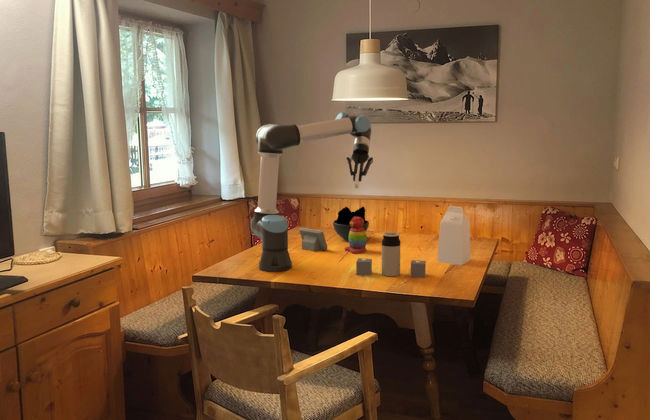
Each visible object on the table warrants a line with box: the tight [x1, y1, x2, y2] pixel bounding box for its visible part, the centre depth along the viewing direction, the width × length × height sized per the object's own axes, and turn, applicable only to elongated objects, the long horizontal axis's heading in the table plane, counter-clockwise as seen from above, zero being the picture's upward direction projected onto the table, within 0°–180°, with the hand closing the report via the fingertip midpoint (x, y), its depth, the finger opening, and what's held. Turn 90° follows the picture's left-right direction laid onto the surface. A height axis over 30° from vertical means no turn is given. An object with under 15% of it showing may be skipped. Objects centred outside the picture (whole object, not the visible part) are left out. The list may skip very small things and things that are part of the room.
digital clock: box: [299, 227, 328, 252], centre depth 304 cm, size 16×9×11 cm, turn 37°
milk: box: [436, 205, 471, 266], centre depth 276 cm, size 12×12×26 cm
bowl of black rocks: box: [332, 206, 370, 241], centre depth 326 cm, size 20×20×19 cm
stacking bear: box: [344, 216, 368, 255], centre depth 298 cm, size 11×10×18 cm
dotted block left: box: [355, 257, 373, 277], centre depth 256 cm, size 6×6×6 cm
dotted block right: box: [410, 259, 427, 279], centre depth 252 cm, size 6×6×6 cm
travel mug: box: [381, 231, 401, 278], centre depth 253 cm, size 8×8×18 cm
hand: (356, 186), depth 271 cm, fingers closed
